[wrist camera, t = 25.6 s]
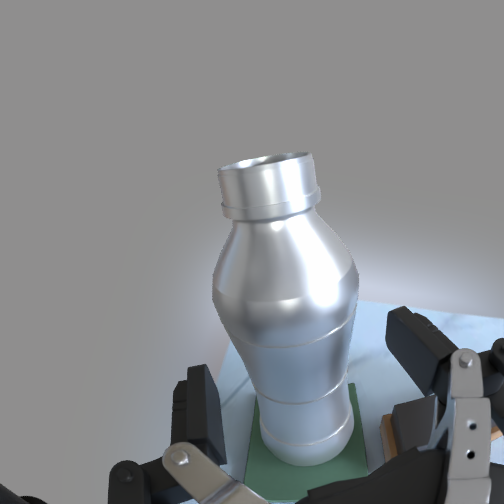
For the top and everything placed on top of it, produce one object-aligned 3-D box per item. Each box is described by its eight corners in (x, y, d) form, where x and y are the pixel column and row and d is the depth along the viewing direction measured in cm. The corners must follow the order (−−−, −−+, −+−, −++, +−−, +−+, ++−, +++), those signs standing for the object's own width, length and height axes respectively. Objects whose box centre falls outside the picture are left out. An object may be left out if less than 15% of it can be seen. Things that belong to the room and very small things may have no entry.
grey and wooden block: (387, 478, 13) (399, 459, 12) (379, 427, 18) (386, 401, 16) (527, 420, 11) (548, 392, 9) (508, 383, 15) (524, 353, 14)
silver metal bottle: (351, 472, 14) (370, 157, 7) (259, 472, 16) (145, 194, 9) (351, 406, 20) (342, 143, 13) (272, 408, 22) (210, 164, 14)
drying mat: (242, 501, 14) (240, 499, 14) (257, 395, 24) (256, 392, 24) (368, 493, 13) (370, 491, 13) (354, 386, 23) (354, 382, 22)
